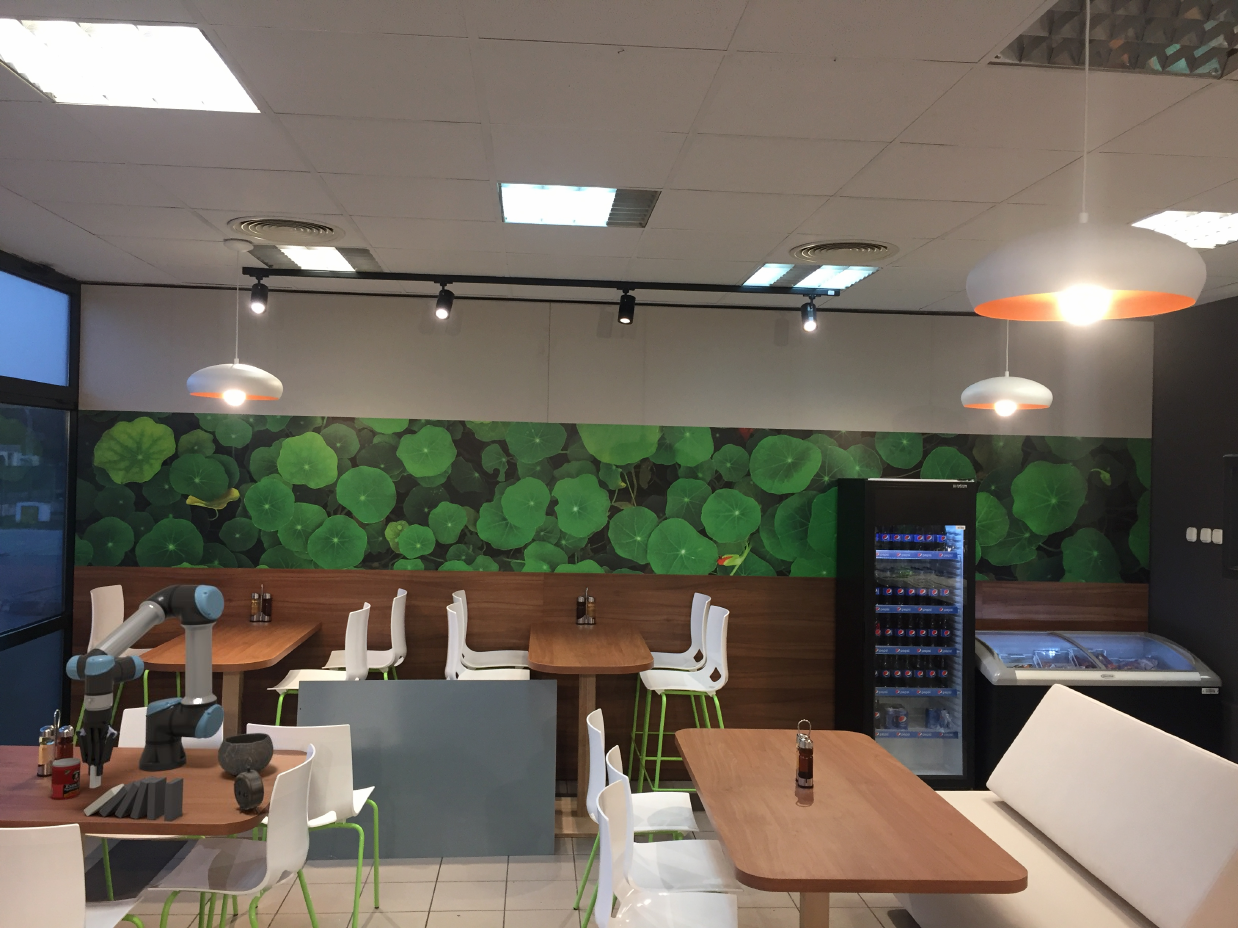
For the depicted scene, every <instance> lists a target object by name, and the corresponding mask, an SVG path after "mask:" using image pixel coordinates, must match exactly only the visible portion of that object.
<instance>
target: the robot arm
mask: <svg viewBox="0 0 1238 928" xmlns="http://www.w3.org/2000/svg"><path fill="white" fill-rule="evenodd" d="M224 599H225V598H224V596H223V594H222V592H221V591H220V590H219V588H217V587H216V586H214V585H213V586H212V585H205V584H174V585H173V584H172V585H170V586H166V587H164V588H162V589H160V590H158V591H157V592H155V593H153V594H152V595H150V596H149V597H147V598H146V599H145V600H143V601H142V602H141V604H139V606H138V610H136V611H135V612H134V613H133V614H131V616H129V617H128V618H127V619H126V620H124V622H122V623H121V624H120V625H119V626H117V627H116V628H115V629H114V630H112V632H110V633H109V634H108V635H107V636H106V637H105V638H103V639H102V640H101V641H100V642H98V643H97V644H96V645H95V646H94V647H93V648H92V649H91V650H89V651H88V652H87V653H86V654H84V655H83V654H79V655H74V656H72V657H71V658H70V659H68V662H67V663H66V668H65V670H66V671H65V673H66V674H67V676H68V677H69V678H70V679H73V680H77V681H78V680H79V681H84V698H83V700H84V701H83V708H84V710H83V716H82V717H83V719H82V720H83V722H84V723H83V726H82V728H81V729H79V730H76V731H75V733H74V734H75V735H76V737H77V741H78V745H79V750H80V757H81V762H82V763H83V764H87V766H88V768H87V769H88V771H87V775H88V776H89V789H96V788H97V787H100V786H101V785H102V776H103V774H104V764H106V763H109V762H110V761H111V758H112V754H113V751H114V747H115V742H116V740H117V739H116V738H117V737H118V736H119V734H120V731H119V730H114V729H113V726H112V723H111V721H112V718H113V707H112V706H113V702H114V685H117V684H121V683H125V682H129V681H130V682H131V681H133V680H135V679H138V678H140V677H141V676H142V674H143V673H144V670H145V663H144V661H143V659H142V658H141V657H140V656H138V655H127V656H124V657H121V656H122V654H124V653H125V652H126V651H128V649H130V647H132V646H133V645H134V644H135V643H136V642H137V641H138V640H140V639H141V638H142V637H143V636H144V635H145V634H147V633H148V631H150V630H151V629H152V628H154V626H155V625H160V624H162V623H163V622H164V621H165V620H167V619H171V618H173V619H174V618H175V619H176V618H179V619H180V626H182V628H184V631H185V641H184V642H185V645H184V647H185V653H184V656H185V660H184V661H185V672H184V673H185V675H184V677H185V683H184V685H185V696H184V697H171V698H170V697H169V698H165V699H160V700H156V701H152V702H150V703H149V704H147V707H146V711H145V712H146V713H145V714H146V715H145V739H144V741H145V743H144V747H143V749H142V752H141V756H140V758H139V760H138V769H139V770H141V771H146V772H160V771H168V770H172V769H177V768H180V767H183V766H184V765H185V764H187V754H186V751H185V748H184V745H183V741H182V738H192V739H198V740H199V739H200V740H201V739H210V738H212V737H215V735H217V733H218V732H219V730H220V729H221V727H222V725H223V723H224V720H225V709H224V708H223V706H222V705H220V704H218V702H217V701H218V699H217V698H218V697H217V696H216V695H215V694H214V693H213V627H214V626H215V624H216V623H217V622H218V621H217V619H219V617H220V616H221V615H222V614H223V611H224V609H225V608H224V607H225V600H224ZM221 617H222V616H221Z"/></svg>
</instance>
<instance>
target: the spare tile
mask: <svg viewBox="0 0 1238 928" xmlns="http://www.w3.org/2000/svg"><path fill="white" fill-rule="evenodd" d="M124 785H125V784H124V783H121V784H119V785H116V786H114V787H112V788H110V789H109V790H107V791H106V792H105V793H103V794H102V795H101V796H100V797H98V798H97V799H96V800H95V801H93V802H92V803H91V804H90V805H88V806H87V807H85V809H83V812H84V813H85V815H86V816H87V817H89V816H91V815H94V814H96V813H97V812H98V813H99V811H100V810H101V809H102V808H103V807H104V806H105V805H106V804H107V803H108V802H109V801H110V800H111V799H112V798H113V796H114V795H115V794H116V793H117V792H118V791H119V790H120V789H121V788H122V787H123V786H124Z"/></svg>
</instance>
